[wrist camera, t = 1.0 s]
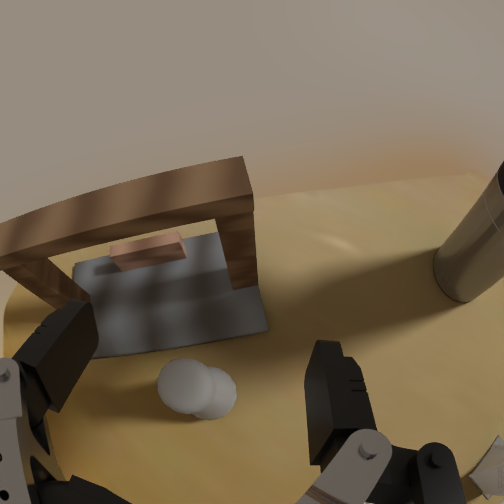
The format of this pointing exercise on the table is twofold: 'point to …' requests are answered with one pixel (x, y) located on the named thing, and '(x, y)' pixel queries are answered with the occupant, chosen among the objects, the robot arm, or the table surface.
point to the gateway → (149, 259)
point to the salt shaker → (196, 389)
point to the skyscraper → (491, 471)
